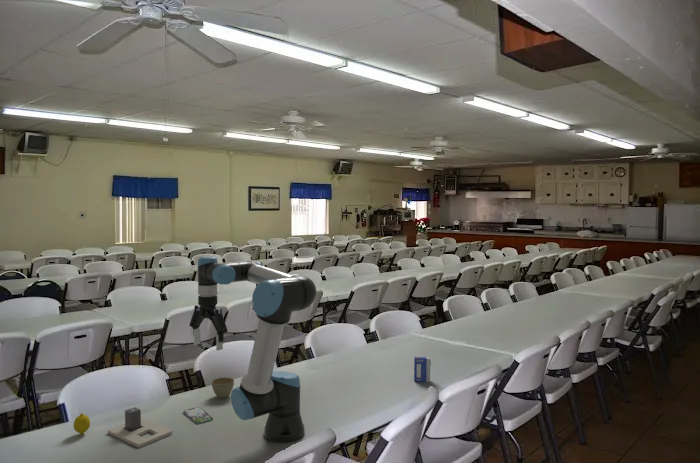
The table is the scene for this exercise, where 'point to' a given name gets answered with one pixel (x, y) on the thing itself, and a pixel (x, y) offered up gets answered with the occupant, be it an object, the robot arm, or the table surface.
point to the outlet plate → (140, 433)
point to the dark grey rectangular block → (132, 419)
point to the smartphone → (197, 415)
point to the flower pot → (222, 386)
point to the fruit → (82, 423)
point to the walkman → (422, 369)
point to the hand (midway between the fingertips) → (208, 347)
